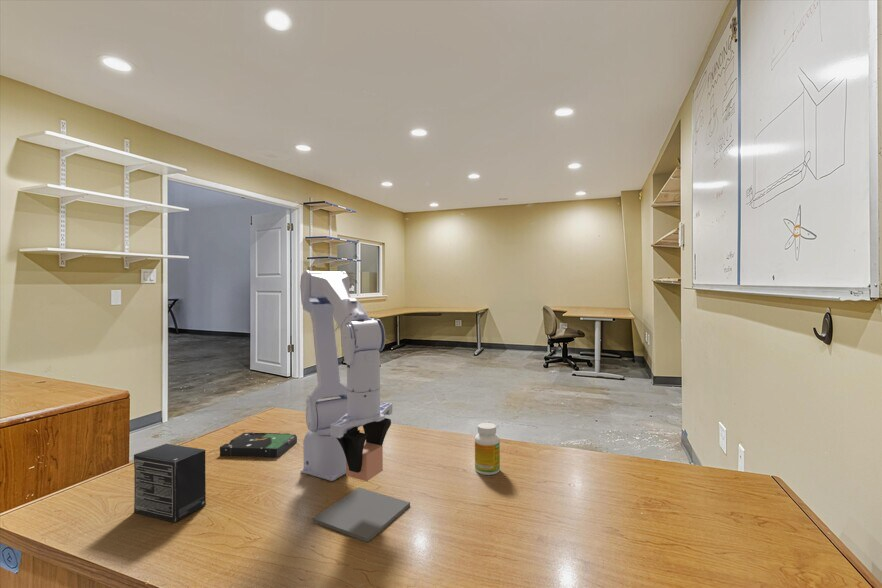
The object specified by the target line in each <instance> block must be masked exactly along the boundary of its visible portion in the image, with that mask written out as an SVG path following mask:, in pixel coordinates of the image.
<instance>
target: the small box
mask: <svg viewBox="0 0 882 588" xmlns="http://www.w3.org/2000/svg"><path fill="white" fill-rule="evenodd" d="M133 463H134V464H133V465H134V470H133V471H134V478H133V479H134V497H133V498H134V500H133V502H134V505H133V508H134V509H133V513H136V514H139V515H142V516H143V515H144V516H147V517H152V518H155V519H159V520H164V521H167V522H172V523H176V522H178V521H180V520H181V519H184V518H186V517H187V516H189V515H190V514H193V513H194V512H196V511H198V510H199V509H202V508H204V507H205V506H207V503H206V502H207V501H206V499H207V498H206V497H207V495H206V492H207V491H206V490H207V489H206V488H207V487H206V482H207V481H206V449H204V448H197V447H190V446H183V445H178V444H177V445H176V444H170V443H164V444H161V445H158V446H155V447H152V448H149V449H147V450H143V451H140V452H138V453H134V455H133Z"/></svg>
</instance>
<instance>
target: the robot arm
mask: <svg viewBox="0 0 882 588" xmlns="http://www.w3.org/2000/svg"><path fill="white" fill-rule="evenodd" d="M299 283H300V285H299V290H300V301H301V302H300V303H301V305H302V310H303V311H305V312H307V313H309V314H310V318H311V323H312V324H311V325H312V334H313V346H314V347H313V348H314V355H315V366H316V378H317V379H316V380H317V386H316V387H315V388H314V389H313V390H312V391H311V392H309V394H308V395H307V397H306V400H305V406H306V407H305V422H306V427H307V429H308V431H307V432H306V433H305V435H304V439H303V447H302V448H303V468H301V469H300V473H303V474H306V475H310V476H313V477H317V478H320V479H323V480H325V481H330V482H334V481H335V480H337V479H338V478H341V477H342V476H344V475H345V474H346V460H347V463H348V467H349V471H353V472H357V473H359V472H360V471H361V467H362V454H363V447H364V443H365V442H368V443H373V444H377V445H382V446H383V445H384V441H385V437H386V435H387V433H388V430H389V429H390V427H391V425H392V420H391V419H390V418H387V417H386V415H388V416H391V415H392V414H393V403H391V402H386V401H385V402H382V403H381V370H380V369H381V368H380V367H381V365H380V364H381V362H380V361H381V360H380V359H381V355H380V354H381V353H380V352H382V351H383V349H384V348H385V345H386V330H385V327H384V324H383V322H382V321H381V319H379V318H375V317H373V318H372V317H371V316H369V314H368V313H367V311H366V310H365V308H364V307H363V305H362V304H361V302H360V301H359V300H358V299H357V298H353V297H351V294H350V293H349V292H350V286H351V285H350V284H351V283H350V277H349V274H347V272H346V271H345V270H341V271H333V270H332V271H330V270H329V271H326V270H324V271H323V270H307V269H305V270H304V271H303V272H302V273H301V275H300V282H299ZM334 321H335V322H336V324H337V326H338V329H339V330H340V331H341V337H340V338H341V345H342V350H343V360H344V363H345V364H346V385H345V384H343V383H341V379H340V378H341V377H340V370H339V369H340V368H339V361H338V358H339V357H338V350H337V340H336V331H335V324H334ZM337 397H338V398H337ZM329 398H332V399H329ZM323 399H325V400H323ZM359 427H362V429H363V432H361V430H360V429H359Z"/></svg>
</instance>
